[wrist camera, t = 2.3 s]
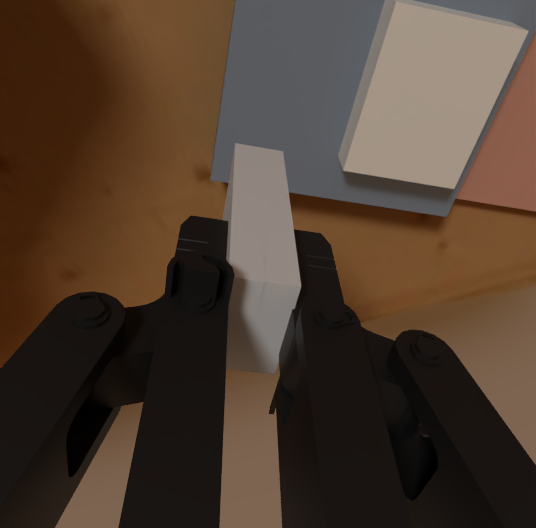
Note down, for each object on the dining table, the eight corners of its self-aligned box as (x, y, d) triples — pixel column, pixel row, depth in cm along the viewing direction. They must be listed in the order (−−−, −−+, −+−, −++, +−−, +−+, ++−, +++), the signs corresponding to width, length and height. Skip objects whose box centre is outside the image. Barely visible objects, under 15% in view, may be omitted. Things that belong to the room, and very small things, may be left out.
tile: (338, 155, 31) (343, 170, 29) (386, -6, 25) (396, 1, 24) (443, 173, 32) (454, 189, 30) (511, 22, 26) (528, 30, 25)
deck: (212, 159, 34) (210, 180, 31) (250, -114, 25) (251, -114, 22) (433, 195, 36) (446, 216, 34) (539, -43, 27) (567, -37, 25)
